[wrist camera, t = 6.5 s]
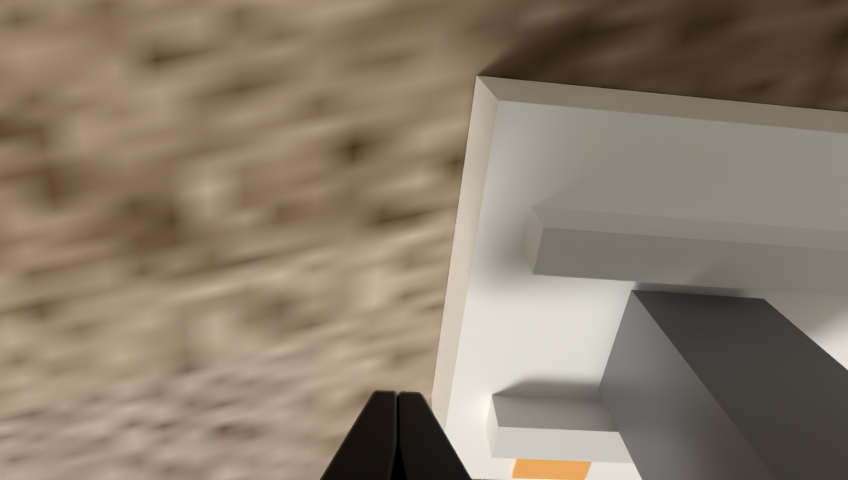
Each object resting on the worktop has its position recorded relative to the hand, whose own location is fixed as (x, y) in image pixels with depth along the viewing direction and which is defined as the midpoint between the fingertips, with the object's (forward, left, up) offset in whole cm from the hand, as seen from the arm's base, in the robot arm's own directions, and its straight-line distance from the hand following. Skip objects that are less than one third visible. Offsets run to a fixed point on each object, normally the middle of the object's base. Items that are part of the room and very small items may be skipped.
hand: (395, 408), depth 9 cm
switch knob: (-6, 0, -2) cm, 7 cm away
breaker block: (-10, 0, -6) cm, 12 cm away
